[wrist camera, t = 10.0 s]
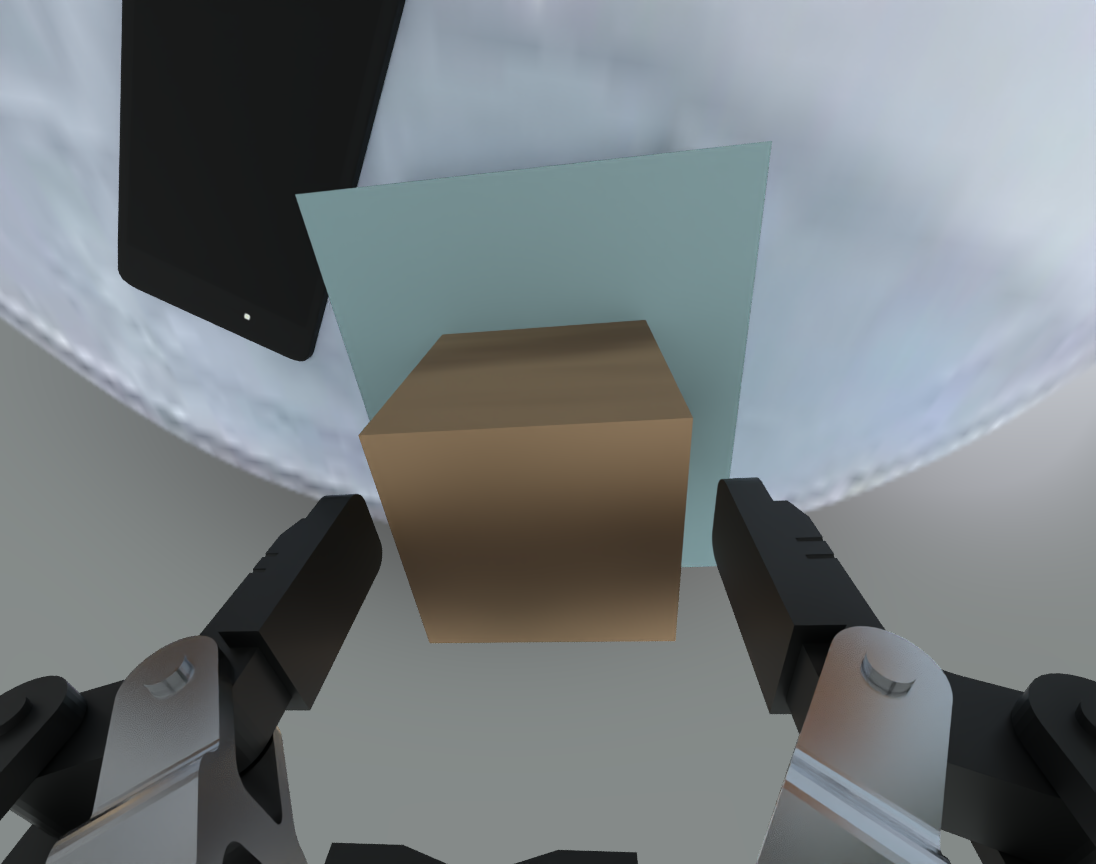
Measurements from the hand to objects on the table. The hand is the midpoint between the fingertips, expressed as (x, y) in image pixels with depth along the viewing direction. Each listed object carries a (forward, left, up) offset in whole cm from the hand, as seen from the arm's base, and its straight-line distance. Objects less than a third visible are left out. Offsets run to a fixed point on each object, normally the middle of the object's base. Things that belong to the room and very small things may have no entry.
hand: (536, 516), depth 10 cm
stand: (0, 0, -13) cm, 13 cm away
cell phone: (-10, -12, -14) cm, 20 cm away
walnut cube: (0, 0, -5) cm, 5 cm away
